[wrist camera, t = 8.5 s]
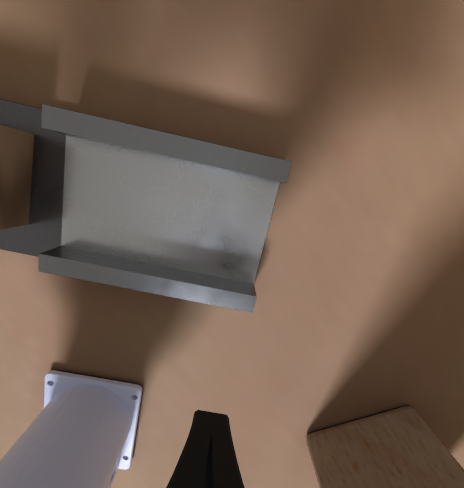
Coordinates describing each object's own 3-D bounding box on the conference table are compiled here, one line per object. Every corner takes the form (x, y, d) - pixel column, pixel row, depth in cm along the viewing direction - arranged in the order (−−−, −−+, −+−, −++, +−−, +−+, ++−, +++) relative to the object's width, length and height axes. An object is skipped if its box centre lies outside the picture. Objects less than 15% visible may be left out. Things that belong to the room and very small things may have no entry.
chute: (249, 294, 19) (252, 312, 16) (-72, 230, 17) (-128, 239, 15) (281, 165, 16) (291, 161, 14) (-86, 81, 15) (-156, 58, 12)
